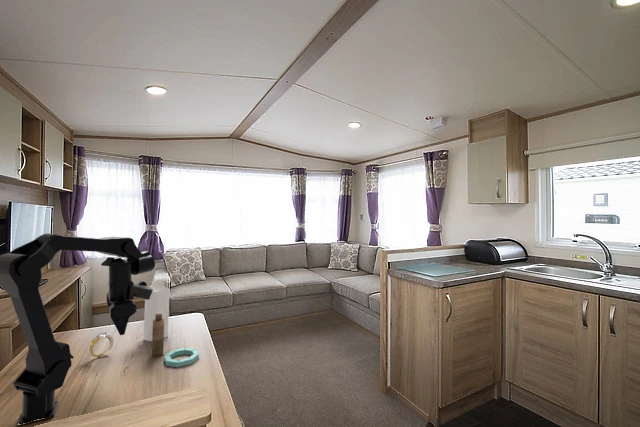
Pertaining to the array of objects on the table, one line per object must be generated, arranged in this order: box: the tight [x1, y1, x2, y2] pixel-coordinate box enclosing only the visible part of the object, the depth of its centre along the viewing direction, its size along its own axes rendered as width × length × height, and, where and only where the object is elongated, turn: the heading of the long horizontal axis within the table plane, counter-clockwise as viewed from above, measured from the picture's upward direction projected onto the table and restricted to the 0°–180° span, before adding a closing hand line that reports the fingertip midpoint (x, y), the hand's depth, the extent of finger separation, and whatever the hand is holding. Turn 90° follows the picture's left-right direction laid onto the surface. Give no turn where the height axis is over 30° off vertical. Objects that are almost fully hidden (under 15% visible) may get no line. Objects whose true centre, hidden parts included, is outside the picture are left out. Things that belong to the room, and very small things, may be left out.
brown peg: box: [151, 313, 165, 359], centre depth 104 cm, size 4×4×14 cm
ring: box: [88, 331, 114, 358], centre depth 102 cm, size 7×3×8 cm, turn 145°
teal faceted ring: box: [163, 347, 200, 368], centre depth 102 cm, size 10×10×2 cm
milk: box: [143, 280, 171, 342], centre depth 118 cm, size 6×6×22 cm
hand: (120, 329), depth 93 cm, fingers open, 9 cm apart
